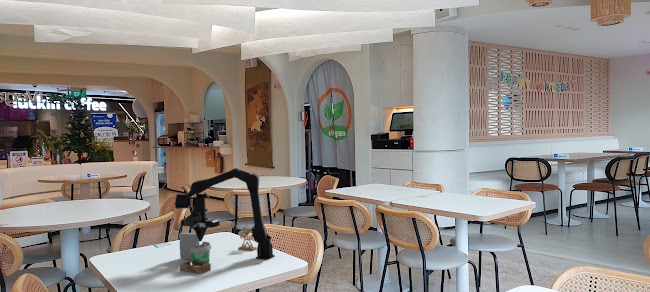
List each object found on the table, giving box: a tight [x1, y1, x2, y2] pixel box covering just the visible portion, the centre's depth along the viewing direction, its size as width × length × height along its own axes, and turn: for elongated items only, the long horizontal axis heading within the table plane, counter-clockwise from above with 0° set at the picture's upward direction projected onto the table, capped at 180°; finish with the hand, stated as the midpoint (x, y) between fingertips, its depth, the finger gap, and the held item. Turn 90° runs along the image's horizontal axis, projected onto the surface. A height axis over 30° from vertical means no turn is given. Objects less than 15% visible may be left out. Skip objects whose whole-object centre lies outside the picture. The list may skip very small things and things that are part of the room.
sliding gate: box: [178, 232, 200, 261], centre depth 217 cm, size 10×2×12 cm, turn 65°
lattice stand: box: [237, 225, 257, 252], centre depth 232 cm, size 9×4×12 cm, turn 64°
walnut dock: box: [179, 260, 212, 275], centre depth 198 cm, size 12×6×3 cm, turn 65°
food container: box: [190, 241, 212, 266], centre depth 203 cm, size 12×6×10 cm, turn 168°
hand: (200, 241), depth 214 cm, fingers closed
